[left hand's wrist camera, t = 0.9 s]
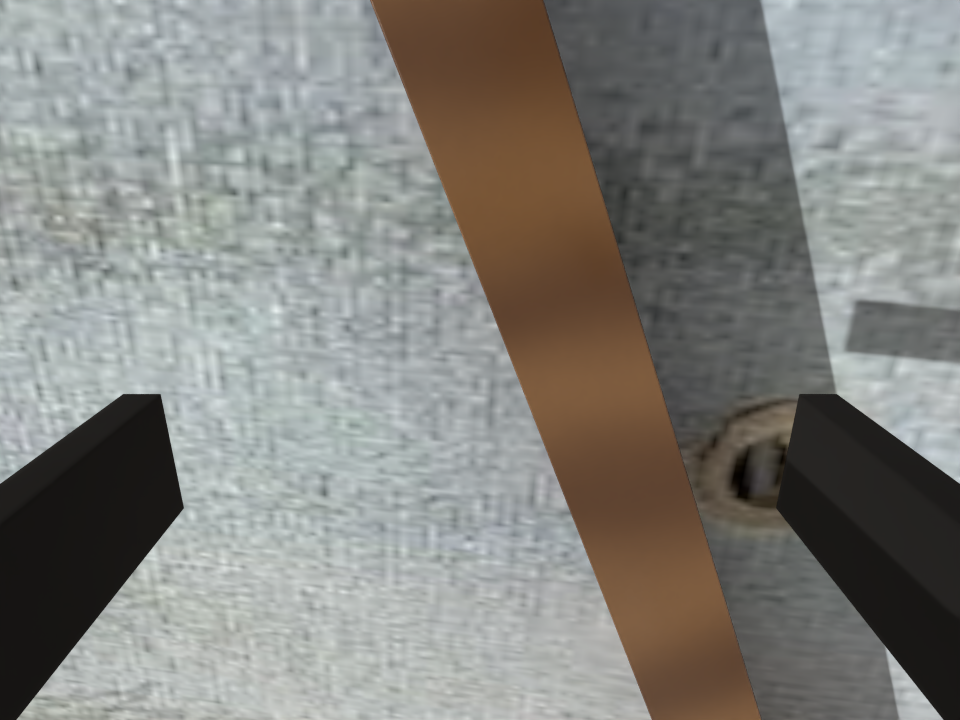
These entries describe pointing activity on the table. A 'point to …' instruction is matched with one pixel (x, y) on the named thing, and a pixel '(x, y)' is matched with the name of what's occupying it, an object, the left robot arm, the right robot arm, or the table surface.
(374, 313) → the table surface
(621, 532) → the post
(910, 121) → the table surface
